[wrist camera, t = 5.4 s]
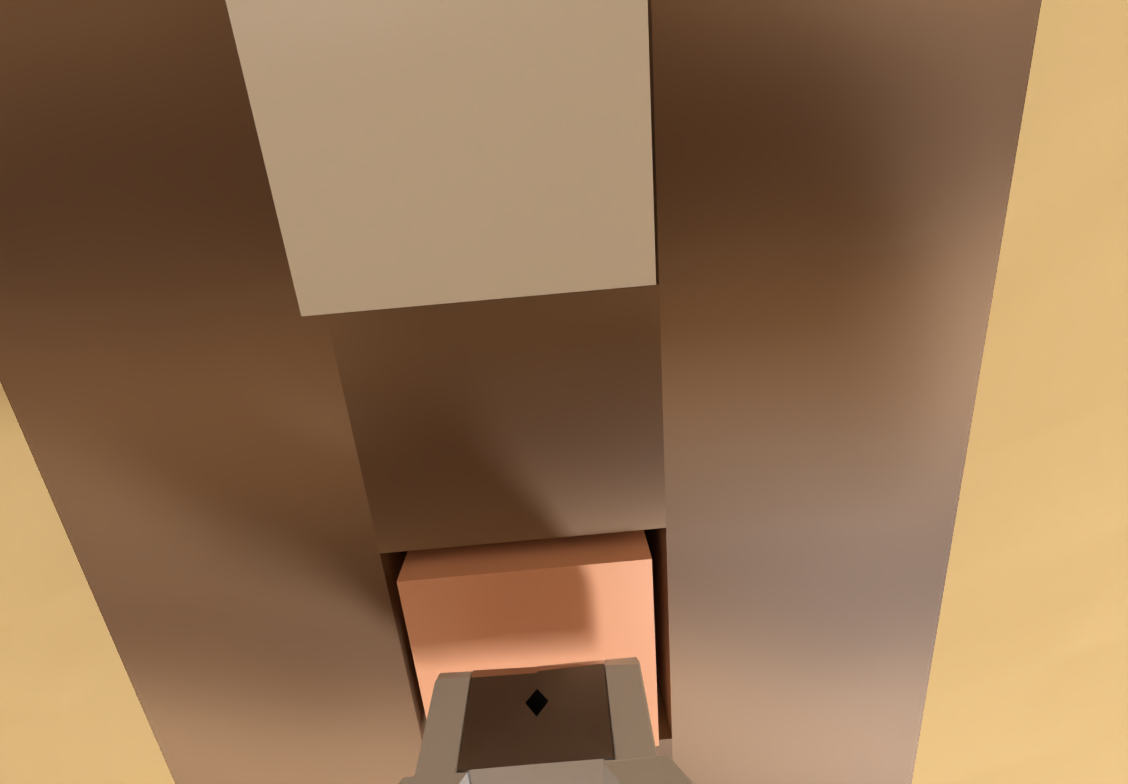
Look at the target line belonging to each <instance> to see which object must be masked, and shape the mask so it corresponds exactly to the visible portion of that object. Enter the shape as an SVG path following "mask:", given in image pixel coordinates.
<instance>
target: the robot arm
mask: <svg viewBox="0 0 1128 784" xmlns="http://www.w3.org/2000/svg"><path fill="white" fill-rule="evenodd" d="M398 784H694V783H693V782H692V781H691V780H690V779H689V778H688V776H687V775H686V774H685V773H684V772H683V771H682V770H681V769H680V768H679V767H678V766H677V765H676V764H675V763H674V761H673V760H672V759H671V758H670V757H669V756H657V752H656V746H655V741H654V736H653V730H652V725H651V720H650V714H649V709H648V704H647V698H646V693H645V688H644V682H643V677H642V672H641V666H640V662H639V660H638V659H637V657H629V658H618V659H608V660H604V663H603V660H597V661H587V662H576V663H566V664H555V665H544V666H539V667H524V668H506V669H489V670H473V671H467V672H448V673H440V674H439V676H438V677H437V679H436V681H435V684H434V688H433V693H432V698H431V702H430V707H429V711H428V716H427V720H426V725H425V730H424V734H423V739H422V743H421V748H420V752H419V757H418V762H417V766H416V771H415V775H414V776H412V777H404V778H403V779H402V780H401V781H400V782H399V783H398Z"/></svg>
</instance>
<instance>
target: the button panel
mask: <svg viewBox="0 0 1128 784" xmlns="http://www.w3.org/2000/svg"><path fill="white" fill-rule="evenodd" d="M1041 1H1042V0H648V31H649V65H650V98H651V131H652V164H653V198H654V231H655V264H656V285H648V286H637V287H625V288H614V289H603V290H592V291H581V292H569V293H558V294H547V295H536V296H525V297H513V298H502V299H491V300H480V301H469V302H457V303H446V304H435V305H424V306H413V307H401V308H390V309H379V310H368V311H357V312H345V313H334V314H323V315H312V316H301V313H300V309H299V305H298V300H297V296H296V292H295V288H294V284H293V280H292V275H291V271H290V267H289V263H288V259H287V255H286V251H285V246H284V242H283V238H282V234H281V230H280V226H279V221H278V217H277V213H276V209H275V205H274V201H273V196H272V192H271V188H270V184H269V180H268V176H267V171H266V167H265V163H264V159H263V155H262V151H261V146H260V142H259V138H258V134H257V130H256V126H255V121H254V117H253V113H252V109H251V105H250V101H249V96H248V92H247V88H246V84H245V80H244V76H243V72H242V67H241V63H240V59H239V55H238V51H237V47H236V42H235V38H234V34H233V30H232V26H231V22H230V17H229V13H228V9H227V5H226V1H225V0H0V382H1V384H2V386H3V388H4V391H5V393H6V395H7V398H8V400H9V402H10V405H11V407H12V409H13V411H14V414H15V416H16V418H17V421H18V423H19V425H20V428H21V430H22V432H23V434H24V437H25V439H26V441H27V444H28V446H29V448H30V451H31V453H32V455H33V457H34V460H35V462H36V464H37V467H38V469H39V471H40V474H41V476H42V478H43V480H44V483H45V485H46V487H47V490H48V492H49V494H50V497H51V499H52V501H53V503H54V506H55V508H56V510H57V513H58V515H59V517H60V520H61V522H62V524H63V526H64V529H65V531H66V533H67V536H68V538H69V540H70V543H71V545H72V547H73V549H74V552H75V554H76V556H77V559H78V561H79V563H80V566H81V568H82V570H83V572H84V575H85V577H86V579H87V582H88V584H89V586H90V589H91V591H92V593H93V595H94V598H95V600H96V602H97V605H98V607H99V609H100V612H101V614H102V616H103V618H104V621H105V623H106V625H107V628H108V630H109V632H110V635H111V637H112V639H113V641H114V644H115V646H116V648H117V651H118V653H119V655H120V658H121V660H122V662H123V664H124V667H125V669H126V671H127V674H128V676H129V678H130V681H131V683H132V685H133V687H134V690H135V692H136V694H137V697H138V699H139V701H140V704H141V706H142V708H143V711H144V713H145V715H146V717H147V720H148V722H149V724H150V727H151V729H152V731H153V734H154V736H155V738H156V740H157V743H158V745H159V747H160V750H161V752H162V754H163V757H164V759H165V761H166V763H167V766H168V768H169V770H170V773H171V775H172V777H173V780H174V782H175V784H398V783H399V782H400V781H401V780H402V779H403V778H404V777H412V776H414V775H415V771H416V766H417V762H418V757H419V752H420V748H421V743H422V739H423V734H424V730H425V725H426V720H427V719H426V714H425V710H424V705H423V701H422V696H421V691H420V687H419V682H418V678H417V673H416V669H415V664H414V659H413V655H412V650H411V646H410V641H409V636H408V632H407V627H406V623H405V618H404V614H403V609H402V604H401V600H400V595H399V591H398V586H397V579H398V577H399V574H400V571H401V568H402V565H403V563H404V560H405V557H406V554H407V551H413V550H424V549H436V548H447V547H458V546H469V545H480V544H491V543H502V542H513V541H525V540H536V539H547V538H558V537H569V536H580V535H591V534H602V533H614V532H625V531H636V530H644V532H645V536H646V540H647V543H648V547H649V550H650V554H651V557H652V574H653V600H654V626H655V652H656V677H657V703H658V729H659V746H656V752H657V756H669V757H670V758H671V759H672V760H673V761H674V763H675V764H676V765H677V766H678V767H679V768H680V769H681V770H682V771H683V772H684V773H685V774H686V775H687V776H688V778H689V779H690V780H691V781H692V782H693V783H694V784H911V783H912V777H913V771H914V765H915V759H916V753H917V747H918V741H919V735H920V729H921V723H922V717H923V711H924V705H925V699H926V693H927V687H928V681H929V675H930V669H931V663H932V657H933V651H934V645H935V639H936V633H937V627H938V621H939V615H940V609H941V603H942V597H943V591H944V585H945V579H946V573H947V567H948V561H949V555H950V549H951V543H952V537H953V531H954V524H955V518H956V512H957V506H958V500H959V494H960V488H961V482H962V476H963V470H964V464H965V458H966V452H967V446H968V440H969V434H970V428H971V422H972V416H973V410H974V404H975V398H976V392H977V386H978V380H979V374H980V368H981V362H982V356H983V350H984V344H985V338H986V332H987V326H988V320H989V314H990V308H991V302H992V296H993V290H994V284H995V278H996V272H997V266H998V260H999V254H1000V248H1001V242H1002V236H1003V229H1004V223H1005V217H1006V211H1007V205H1008V199H1009V193H1010V187H1011V181H1012V175H1013V169H1014V163H1015V157H1016V151H1017V145H1018V139H1019V133H1020V127H1021V121H1022V115H1023V109H1024V103H1025V97H1026V91H1027V85H1028V79H1029V73H1030V67H1031V61H1032V55H1033V49H1034V43H1035V37H1036V31H1037V25H1038V19H1039V13H1040V7H1041Z"/></svg>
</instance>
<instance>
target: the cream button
mask: <svg viewBox="0 0 1128 784" xmlns="http://www.w3.org/2000/svg"><path fill="white" fill-rule="evenodd" d="M225 1H226V5H227V9H228V13H229V17H230V22H231V26H232V30H233V34H234V38H235V42H236V47H237V51H238V55H239V59H240V63H241V67H242V72H243V76H244V80H245V84H246V88H247V92H248V96H249V101H250V105H251V109H252V113H253V117H254V121H255V126H256V130H257V134H258V138H259V142H260V146H261V151H262V155H263V159H264V163H265V167H266V171H267V176H268V180H269V184H270V188H271V192H272V196H273V201H274V205H275V209H276V213H277V217H278V221H279V226H280V230H281V234H282V238H283V242H284V246H285V251H286V255H287V259H288V263H289V267H290V271H291V275H292V280H293V284H294V288H295V292H296V296H297V300H298V305H299V309H300V313H301V316H312V315H323V314H334V313H345V312H357V311H368V310H379V309H390V308H401V307H413V306H424V305H435V304H446V303H457V302H469V301H480V300H491V299H502V298H513V297H525V296H536V295H547V294H558V293H569V292H581V291H592V290H603V289H614V288H625V287H637V286H648V285H656V264H655V231H654V198H653V164H652V131H651V98H650V65H649V31H648V0H225Z"/></svg>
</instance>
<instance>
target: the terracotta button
mask: <svg viewBox="0 0 1128 784" xmlns="http://www.w3.org/2000/svg"><path fill="white" fill-rule="evenodd" d="M397 586H398V591H399V595H400V600H401V604H402V609H403V614H404V618H405V623H406V627H407V632H408V636H409V641H410V646H411V650H412V655H413V659H414V664H415V669H416V673H417V678H418V682H419V687H420V691H421V696H422V701H423V705H424V710H425V714H426V719H427V716H428V711H429V707H430V702H431V698H432V693H433V688H434V684H435V681H436V679H437V677H438V676H439V674H440V673H448V672H467V671H473V670H489V669H506V668H524V667H539V666H544V665H555V664H566V663H576V662H587V661H597V660H603V663H604V660H608V659H618V658H629V657H637V659H638V660H639V662H640V666H641V672H642V677H643V682H644V688H645V693H646V698H647V704H648V709H649V714H650V720H651V725H652V730H653V736H654V741H655V746H659V729H658V703H657V677H656V652H655V626H654V600H653V574H652V557H651V554H650V550H649V547H648V543H647V540H646V536H645V532H644V530H636V531H625V532H614V533H602V534H591V535H580V536H569V537H558V538H547V539H536V540H525V541H513V542H502V543H491V544H480V545H469V546H458V547H447V548H436V549H424V550H413V551H407V554H406V557H405V560H404V563H403V565H402V568H401V571H400V574H399V577H398V579H397Z"/></svg>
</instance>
